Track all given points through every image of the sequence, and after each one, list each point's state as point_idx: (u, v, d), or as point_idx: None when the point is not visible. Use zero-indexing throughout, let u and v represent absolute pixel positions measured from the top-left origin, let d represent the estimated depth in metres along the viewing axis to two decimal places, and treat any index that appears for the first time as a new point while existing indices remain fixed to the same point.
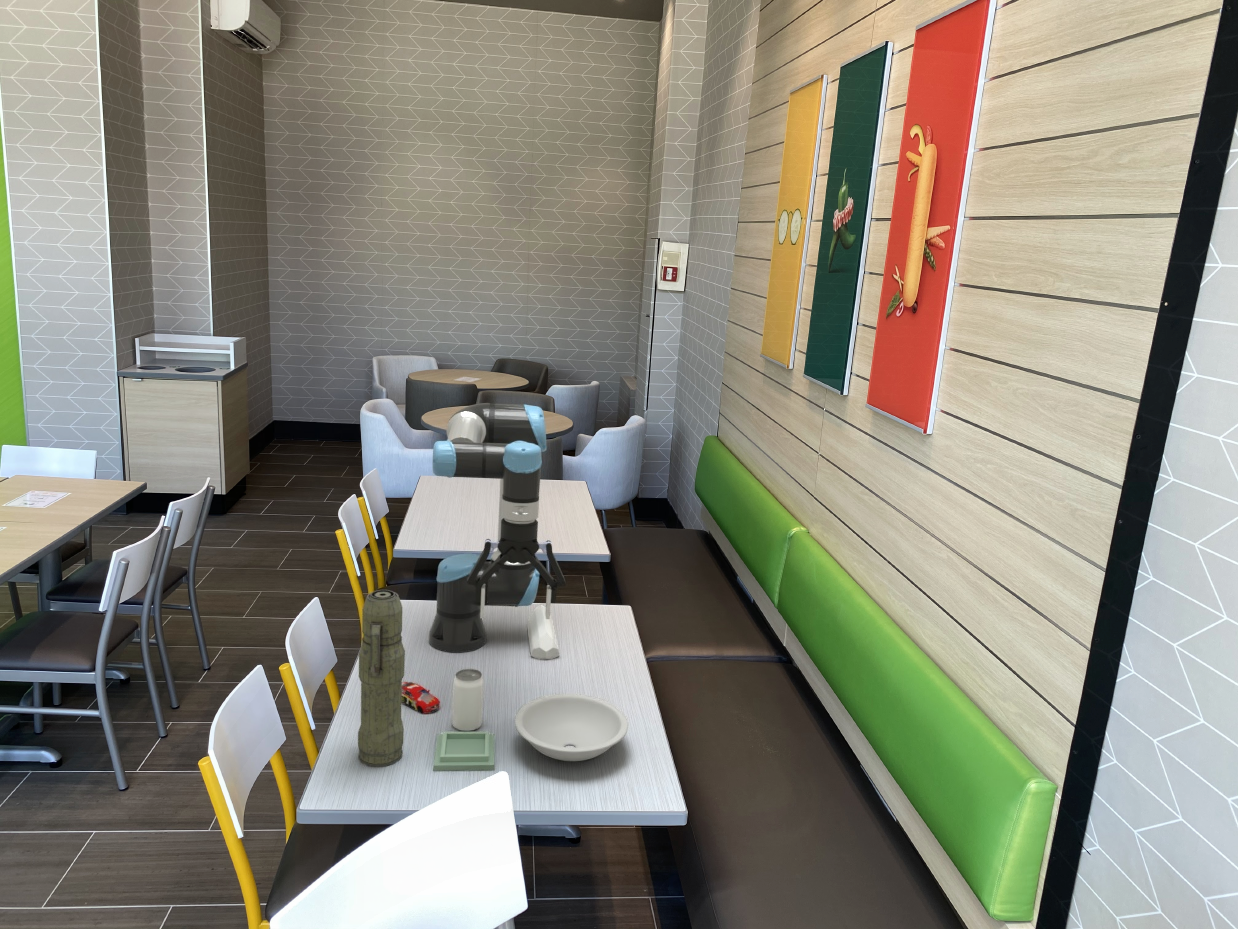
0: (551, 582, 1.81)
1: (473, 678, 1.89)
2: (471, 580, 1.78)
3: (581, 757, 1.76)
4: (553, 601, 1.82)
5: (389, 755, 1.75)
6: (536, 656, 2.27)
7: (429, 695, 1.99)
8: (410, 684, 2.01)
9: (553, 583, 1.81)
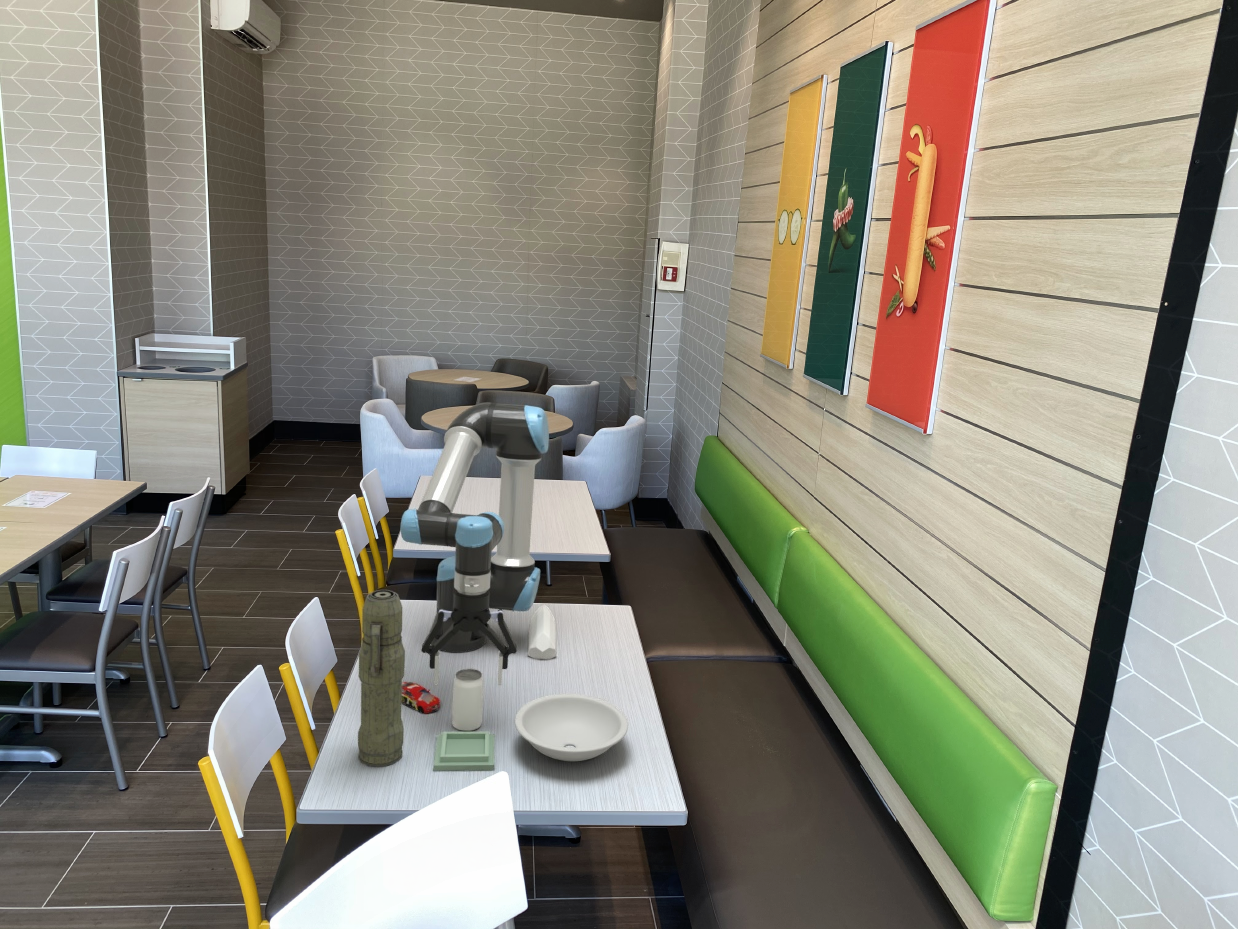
0: (502, 650, 1.88)
1: (473, 678, 1.89)
2: (425, 648, 1.85)
3: (581, 757, 1.76)
4: (505, 667, 1.89)
5: (389, 755, 1.75)
6: (533, 656, 2.27)
7: (429, 695, 1.99)
8: (410, 684, 2.01)
9: (504, 651, 1.88)
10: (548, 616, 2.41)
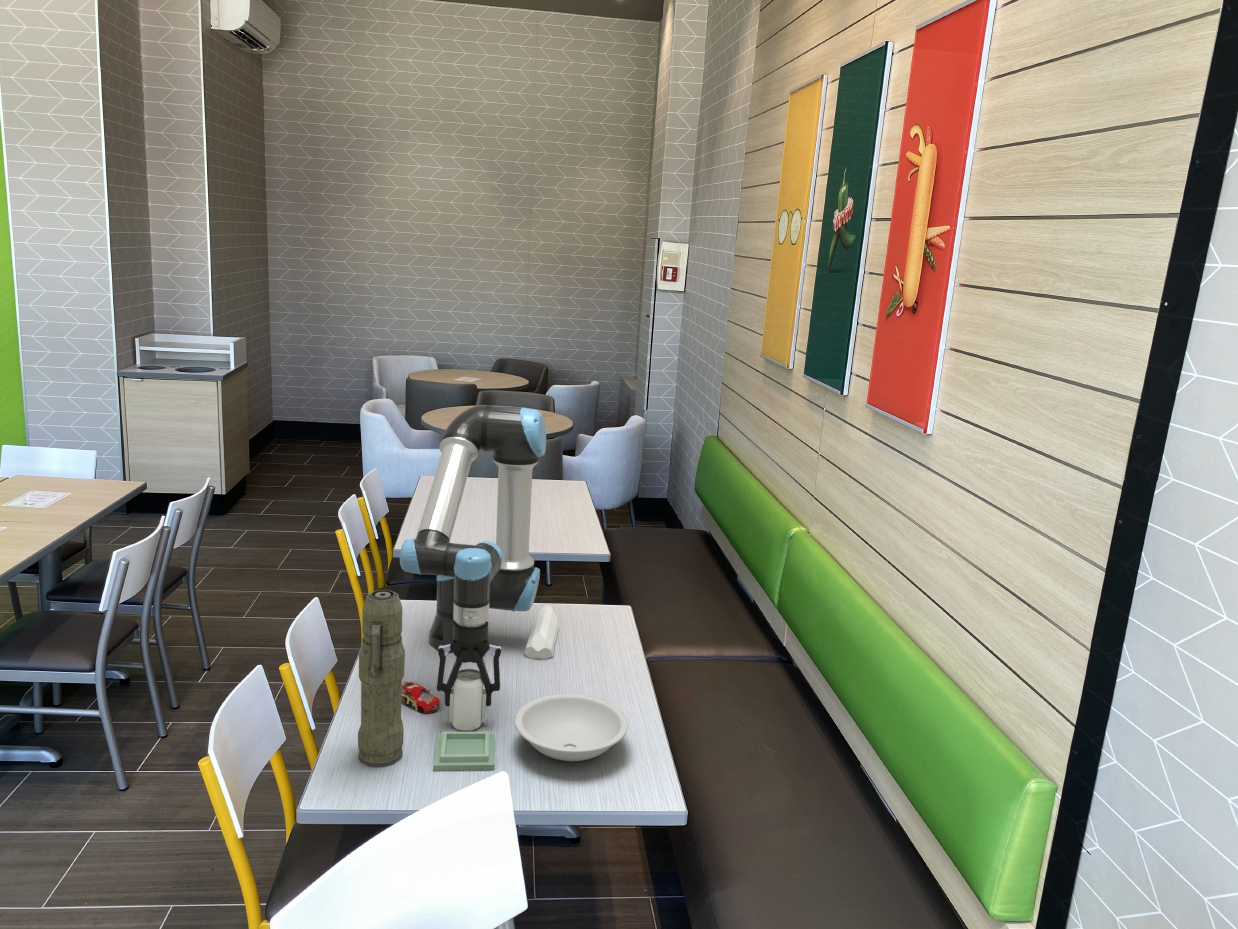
0: (488, 687, 1.90)
1: (473, 678, 1.89)
2: (439, 686, 1.88)
3: (581, 757, 1.76)
4: (488, 705, 1.91)
5: (389, 755, 1.75)
6: (529, 655, 2.27)
7: (429, 695, 1.99)
8: (410, 684, 2.01)
9: (489, 688, 1.90)
10: (549, 616, 2.40)
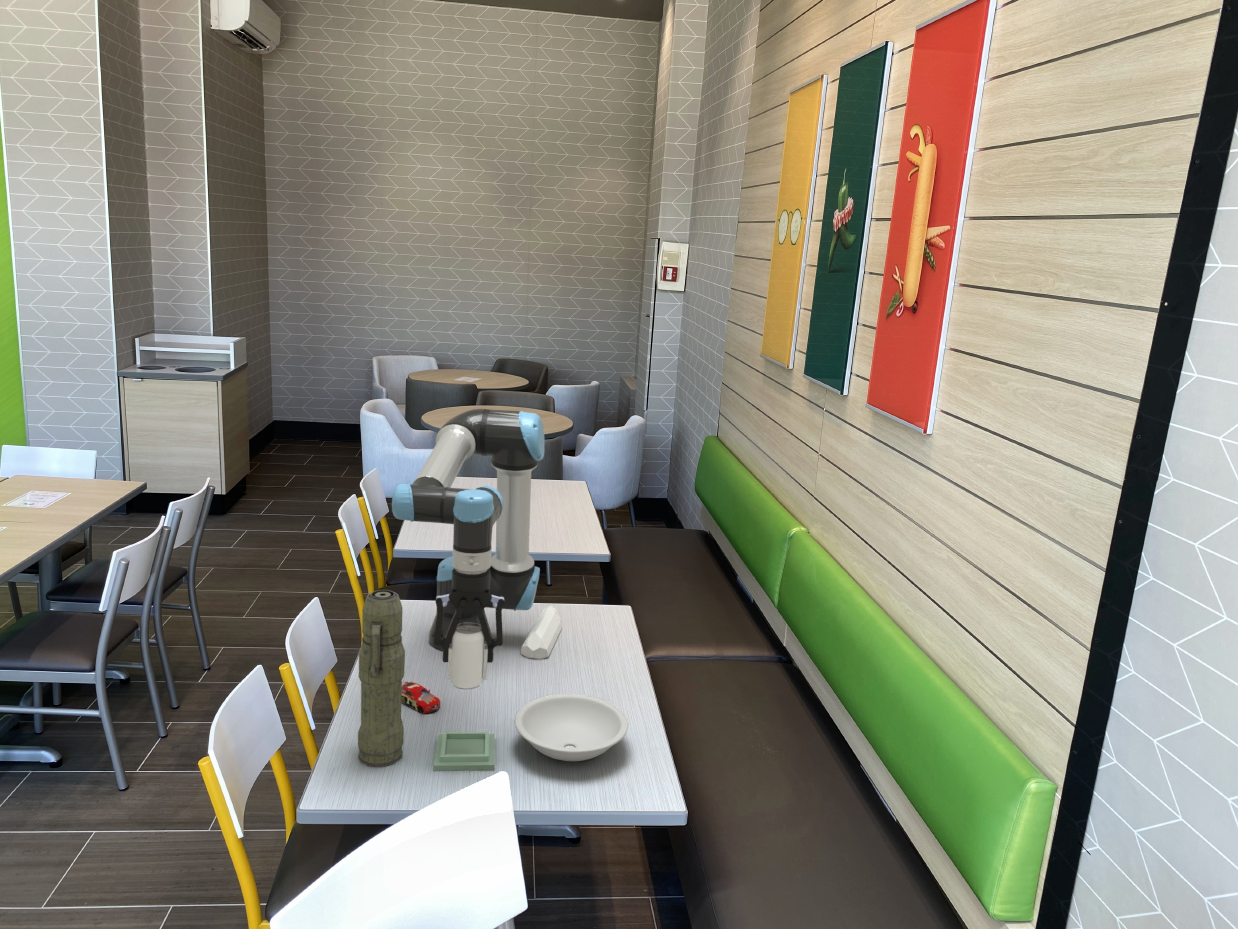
0: (489, 641, 1.75)
1: (473, 631, 1.74)
2: (437, 640, 1.73)
3: (581, 757, 1.76)
4: (490, 661, 1.76)
5: (389, 755, 1.75)
6: (525, 654, 2.27)
7: (429, 695, 1.99)
8: (410, 684, 2.01)
9: (491, 643, 1.75)
10: (551, 616, 2.40)
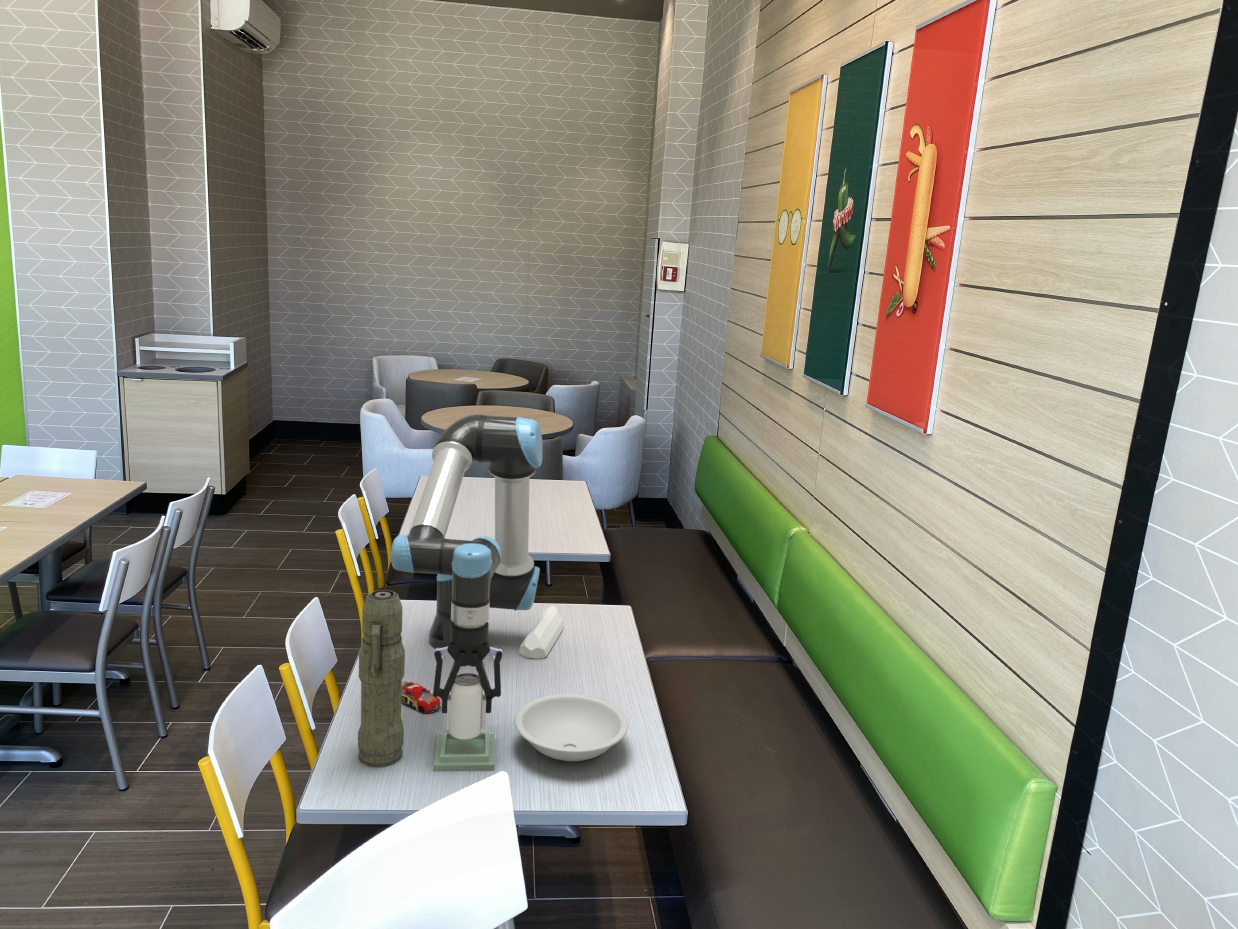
0: (488, 692, 1.77)
1: (472, 683, 1.76)
2: (436, 692, 1.75)
3: (581, 757, 1.76)
4: (488, 711, 1.78)
5: (389, 755, 1.75)
6: (523, 654, 2.28)
7: (430, 695, 1.99)
8: (410, 684, 2.01)
9: (489, 694, 1.77)
10: (551, 616, 2.40)
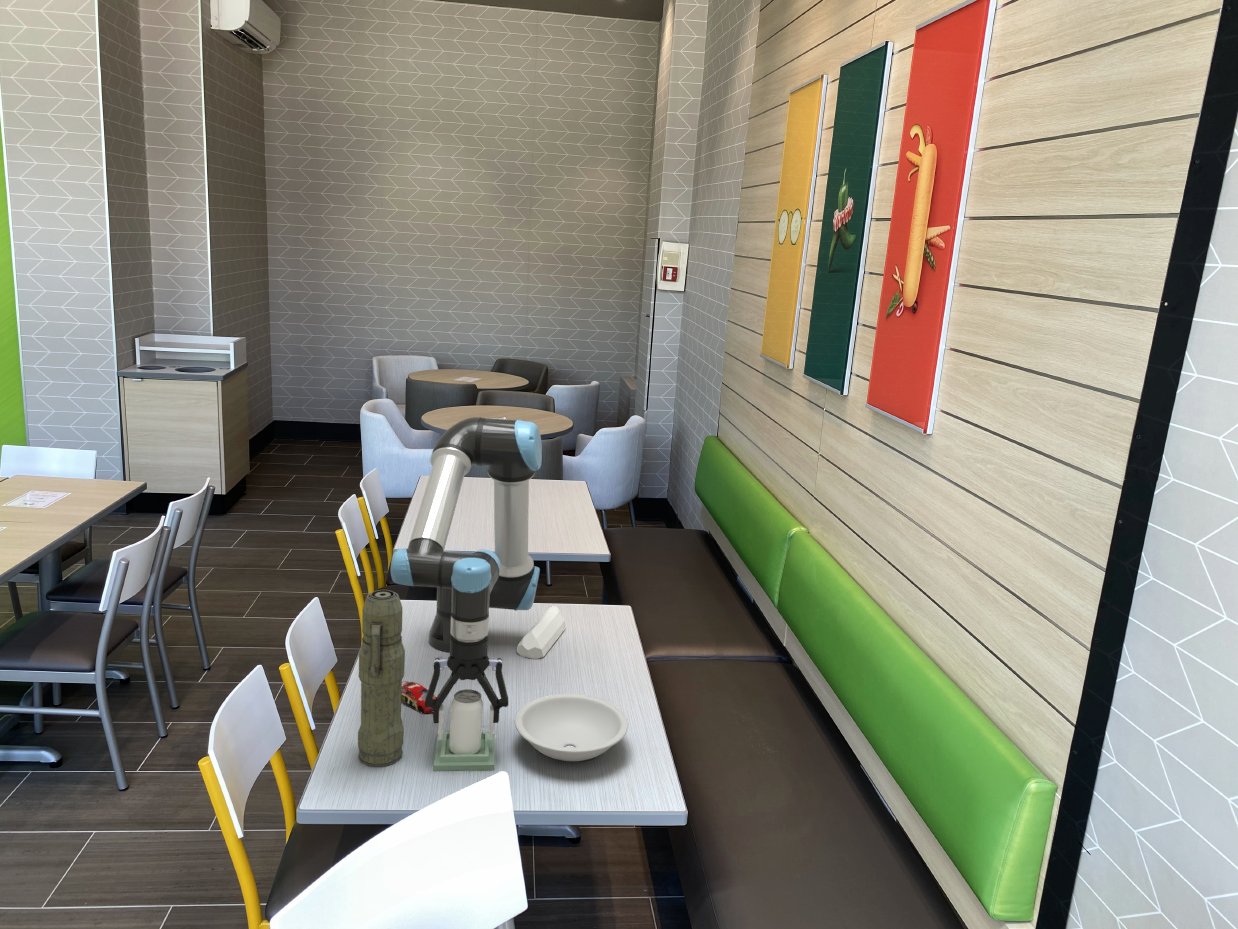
0: (494, 703, 1.78)
1: (472, 700, 1.77)
2: (428, 702, 1.76)
3: (581, 757, 1.76)
4: (496, 721, 1.79)
5: (389, 755, 1.75)
6: (520, 653, 2.28)
7: None
8: (411, 684, 2.01)
9: (496, 704, 1.78)
10: (552, 617, 2.40)
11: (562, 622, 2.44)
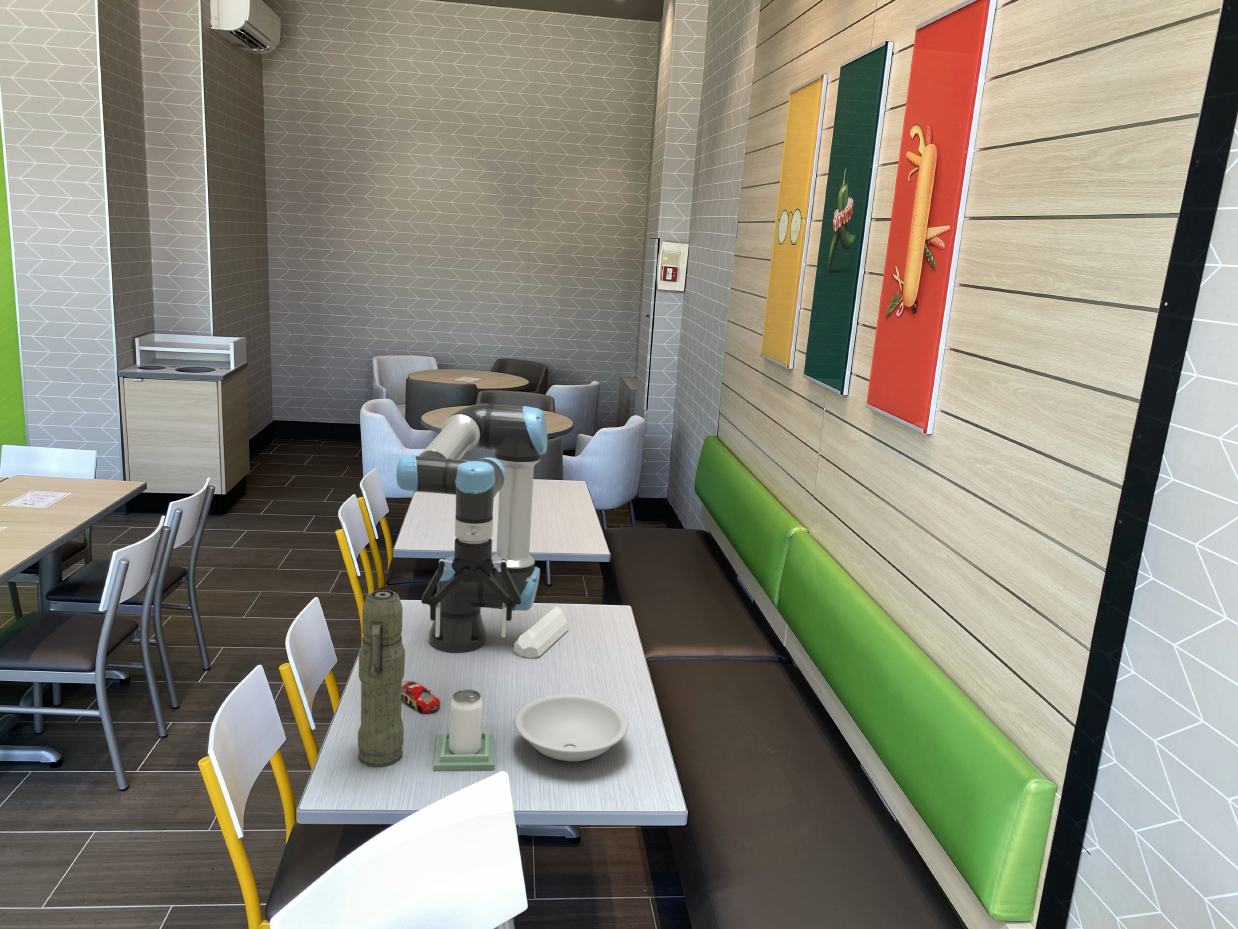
0: (506, 600, 1.80)
1: (471, 700, 1.77)
2: (425, 599, 1.78)
3: (581, 757, 1.76)
4: (509, 619, 1.82)
5: (389, 755, 1.75)
6: (517, 652, 2.28)
7: (430, 695, 1.99)
8: (412, 683, 2.01)
9: (508, 601, 1.80)
10: (553, 617, 2.40)
11: (564, 623, 2.44)
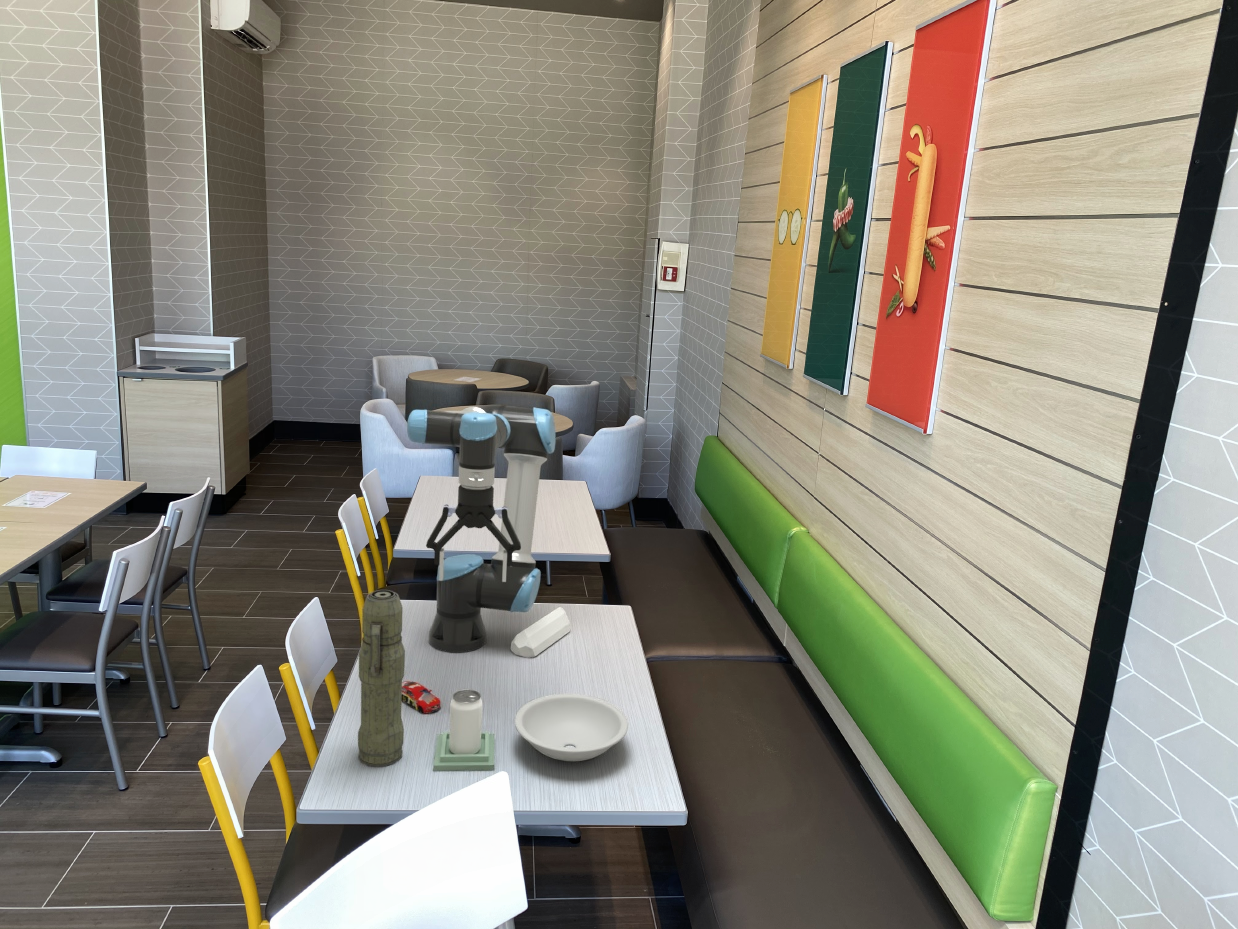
0: (507, 546, 1.89)
1: (471, 700, 1.77)
2: (430, 544, 1.87)
3: (581, 757, 1.76)
4: (509, 564, 1.91)
5: (389, 755, 1.75)
6: (514, 651, 2.29)
7: (430, 695, 1.99)
8: (412, 683, 2.01)
9: (509, 547, 1.89)
10: (554, 618, 2.40)
11: (566, 624, 2.43)
